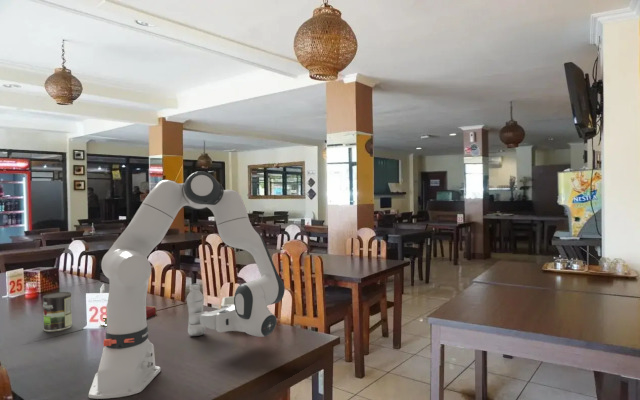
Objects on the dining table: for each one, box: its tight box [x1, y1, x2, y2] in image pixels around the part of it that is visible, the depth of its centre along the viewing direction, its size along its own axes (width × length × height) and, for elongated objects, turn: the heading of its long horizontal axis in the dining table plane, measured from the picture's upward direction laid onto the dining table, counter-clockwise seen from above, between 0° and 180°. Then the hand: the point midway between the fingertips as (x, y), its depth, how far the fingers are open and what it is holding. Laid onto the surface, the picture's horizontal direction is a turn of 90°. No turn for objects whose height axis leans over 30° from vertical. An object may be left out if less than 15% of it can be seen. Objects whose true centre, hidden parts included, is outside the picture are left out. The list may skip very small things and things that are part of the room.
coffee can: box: [42, 291, 73, 333], centre depth 175 cm, size 10×10×14 cm
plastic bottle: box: [185, 283, 206, 337], centre depth 162 cm, size 6×7×20 cm
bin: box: [220, 296, 234, 309], centre depth 175 cm, size 14×14×10 cm
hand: (215, 310), depth 153 cm, fingers open, 8 cm apart
